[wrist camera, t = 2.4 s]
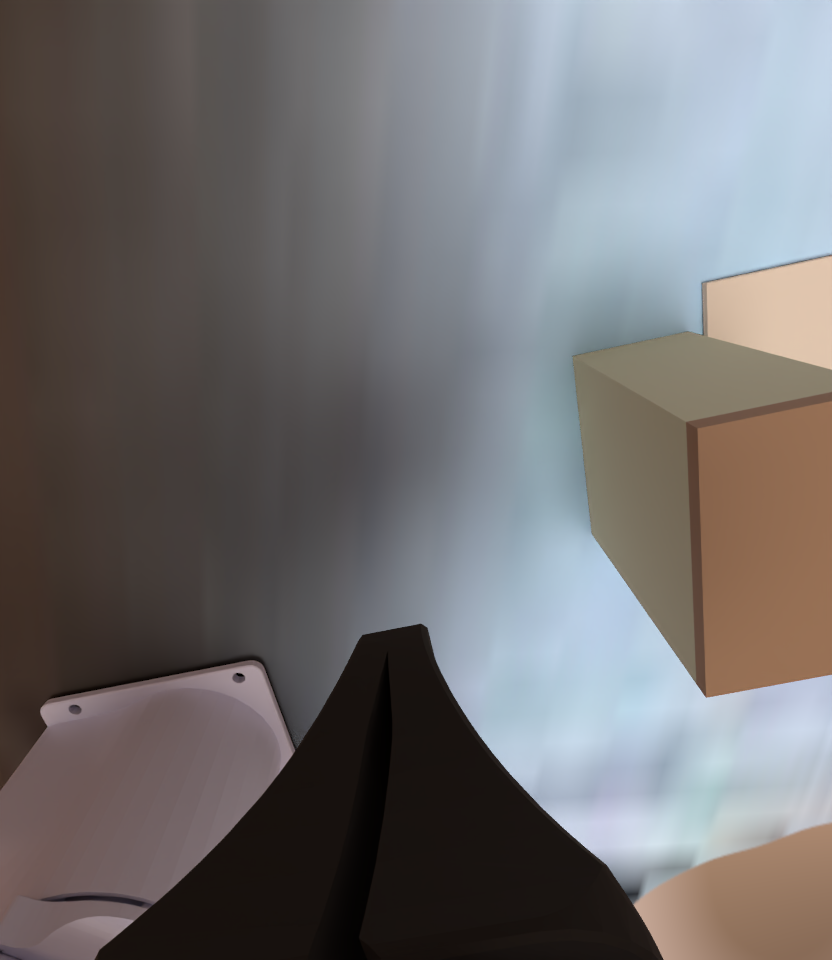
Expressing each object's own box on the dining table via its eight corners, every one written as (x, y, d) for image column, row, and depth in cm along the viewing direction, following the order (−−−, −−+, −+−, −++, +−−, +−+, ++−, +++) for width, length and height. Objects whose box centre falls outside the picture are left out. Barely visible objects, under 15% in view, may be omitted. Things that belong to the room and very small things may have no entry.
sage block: (591, 533, 23) (706, 697, 14) (572, 355, 20) (697, 428, 12) (694, 513, 23) (871, 667, 14) (688, 331, 20) (898, 387, 12)
